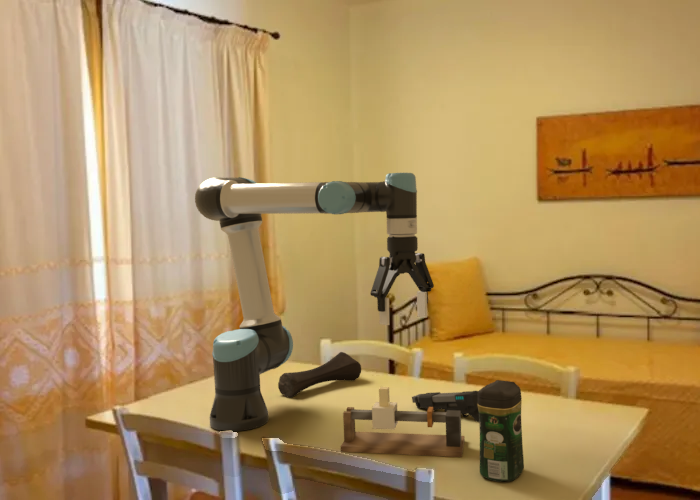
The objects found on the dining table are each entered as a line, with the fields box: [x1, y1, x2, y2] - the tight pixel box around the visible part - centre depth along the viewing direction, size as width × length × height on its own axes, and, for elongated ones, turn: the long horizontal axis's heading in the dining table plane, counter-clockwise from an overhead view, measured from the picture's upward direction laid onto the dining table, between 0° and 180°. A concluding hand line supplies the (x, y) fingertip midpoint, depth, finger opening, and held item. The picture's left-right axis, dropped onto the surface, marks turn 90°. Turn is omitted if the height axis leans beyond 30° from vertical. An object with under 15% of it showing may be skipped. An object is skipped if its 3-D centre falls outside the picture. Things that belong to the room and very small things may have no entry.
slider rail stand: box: [340, 406, 466, 458], centre depth 154 cm, size 27×10×9 cm, turn 77°
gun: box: [411, 390, 479, 423], centre depth 176 cm, size 4×20×10 cm, turn 46°
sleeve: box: [371, 386, 399, 430], centre depth 155 cm, size 5×5×9 cm
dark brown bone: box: [277, 351, 362, 399], centre depth 207 cm, size 11×10×28 cm
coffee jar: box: [477, 379, 525, 483], centre depth 136 cm, size 10×8×19 cm
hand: (403, 320), depth 168 cm, fingers open, 13 cm apart
